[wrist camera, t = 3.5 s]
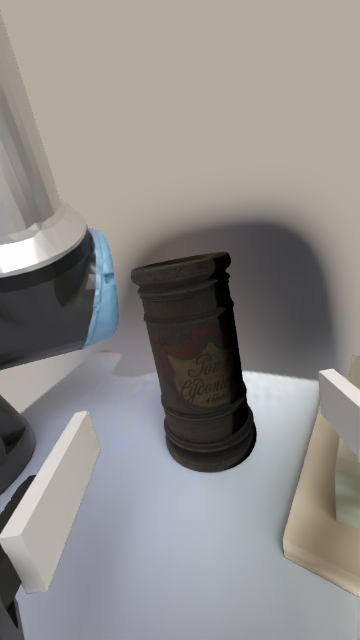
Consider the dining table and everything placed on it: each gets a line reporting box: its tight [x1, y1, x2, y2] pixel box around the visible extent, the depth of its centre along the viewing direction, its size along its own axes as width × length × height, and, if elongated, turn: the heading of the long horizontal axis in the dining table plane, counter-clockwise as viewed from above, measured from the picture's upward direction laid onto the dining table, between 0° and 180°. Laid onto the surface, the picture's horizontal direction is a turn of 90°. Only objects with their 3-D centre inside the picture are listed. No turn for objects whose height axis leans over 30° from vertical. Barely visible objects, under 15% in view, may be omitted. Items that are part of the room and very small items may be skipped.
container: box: [131, 252, 257, 472], centre depth 24 cm, size 9×9×18 cm
